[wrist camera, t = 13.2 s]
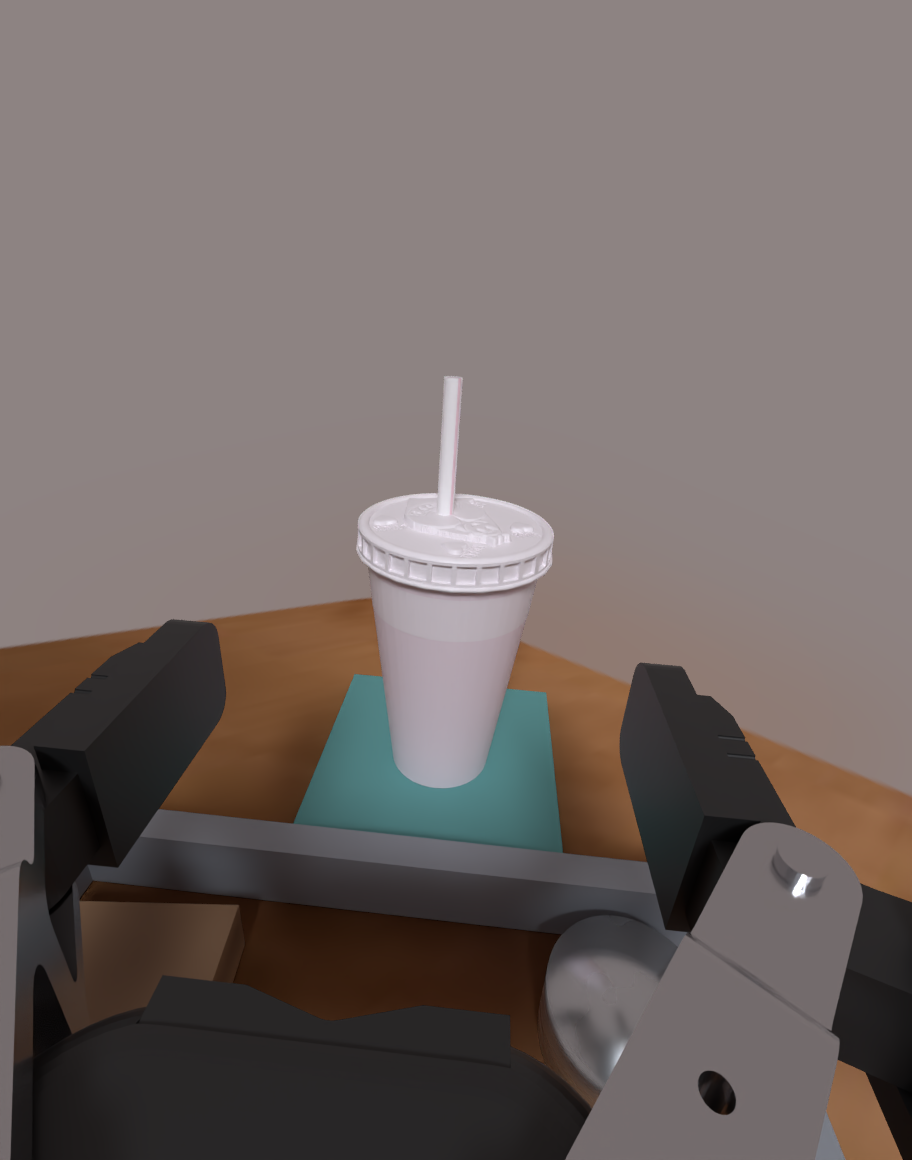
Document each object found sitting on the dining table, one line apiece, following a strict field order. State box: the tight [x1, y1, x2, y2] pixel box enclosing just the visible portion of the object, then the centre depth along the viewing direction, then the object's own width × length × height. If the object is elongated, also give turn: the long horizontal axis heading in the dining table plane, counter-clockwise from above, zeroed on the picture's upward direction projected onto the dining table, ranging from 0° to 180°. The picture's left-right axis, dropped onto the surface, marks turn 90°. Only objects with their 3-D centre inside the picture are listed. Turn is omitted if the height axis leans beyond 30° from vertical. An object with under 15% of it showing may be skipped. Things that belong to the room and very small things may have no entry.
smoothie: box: [356, 376, 554, 788], centre depth 19 cm, size 6×6×14 cm
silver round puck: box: [538, 915, 678, 1108], centre depth 14 cm, size 4×4×2 cm
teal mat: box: [293, 674, 563, 853], centre depth 23 cm, size 9×9×1 cm
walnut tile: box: [79, 901, 245, 1024], centre depth 14 cm, size 5×4×2 cm
